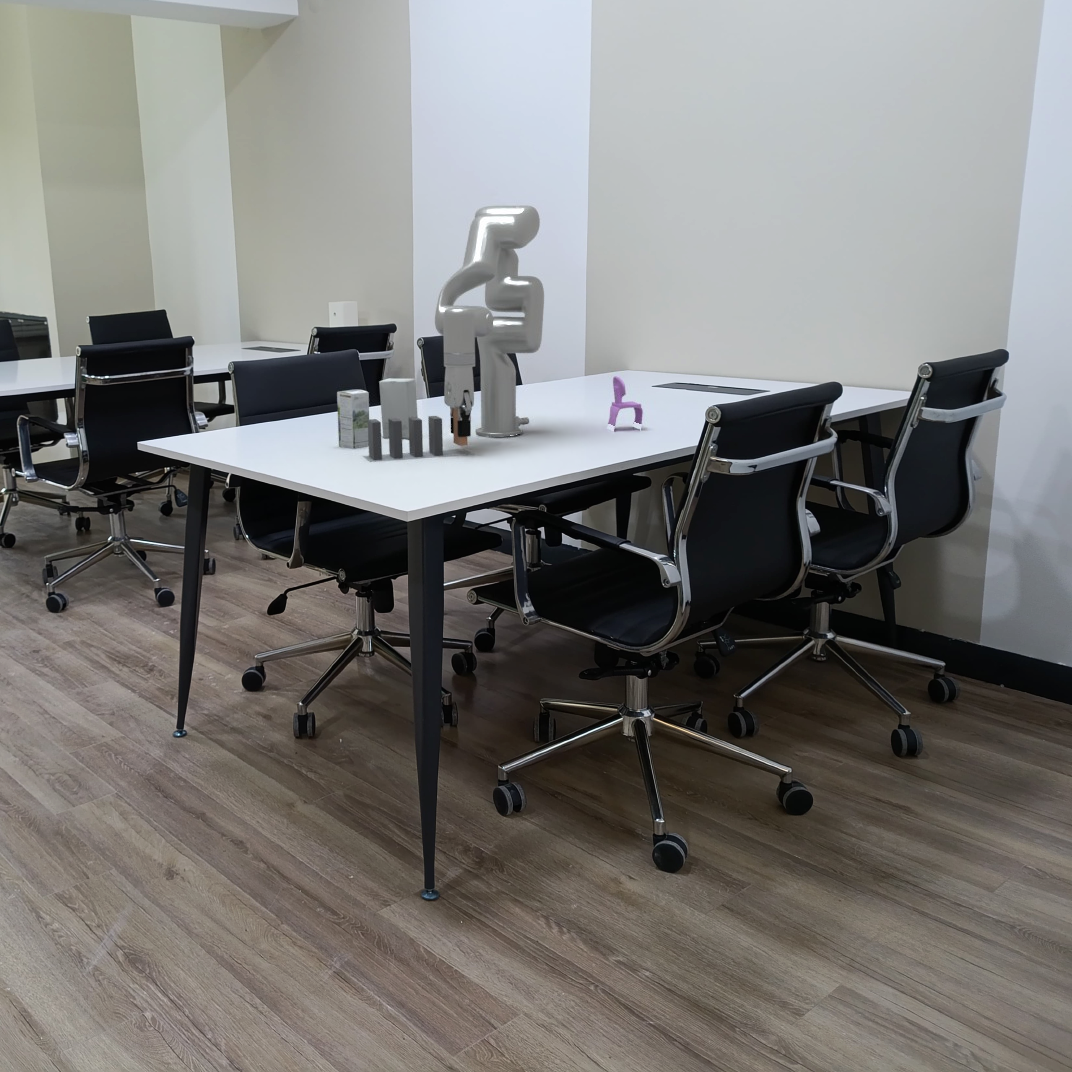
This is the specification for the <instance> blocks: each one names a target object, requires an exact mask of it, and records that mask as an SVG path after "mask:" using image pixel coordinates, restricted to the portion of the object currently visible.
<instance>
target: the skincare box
mask: <svg viewBox="0 0 1072 1072" xmlns="http://www.w3.org/2000/svg"><path fill="white" fill-rule="evenodd" d="M378 383H379V396H380V414H381V430H382V438H383V439H389V424H388V418H397V419H399V420H401V421H402V440H403V439H406V440H407V439H408V440H409V418H408V417H418V402H417V385H416V383H417V382H416V378H394V377H393V378H390V377H389V378H386V379H383V380H380V381H378ZM418 418H419V417H418Z"/></svg>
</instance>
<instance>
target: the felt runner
mask: <svg viewBox="0 0 1072 1072" xmlns="http://www.w3.org/2000/svg"><path fill="white" fill-rule="evenodd" d="M474 455H475V453H473V452H471V451H470V450H468V449H465V448H461V449H447V450H446V449H445V450H444V449H443V456H434V455H432V454H431V453H429V451H423V457H414V456H412V455H410V452H403V458H400V459H394V458H393V457H391V456H390V453H388V454H387V453H386V454H385V453H384V454H382V460H373V459H372V458H370V457H369V455H362V457H363V458H365V460H367V461H368V462H370V463H372V462H373V463H375V462H387V461H388V462H390V461H403V460H404V461H405V460H417V459H418V460H419V459H432V458H446V457H461V456H474Z"/></svg>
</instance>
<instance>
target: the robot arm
mask: <svg viewBox="0 0 1072 1072" xmlns="http://www.w3.org/2000/svg"><path fill="white" fill-rule="evenodd" d="M540 220H541V219H540V215H539V212H538V211H537V209H536V208H535V207H534V206H533V205H488V206H482V207H481V208H479V209H477V210H476V212H475V214H474V218H473V220H472V221H471V224H470V227H469V231H468V236H467V243H466V247H465V252H464V257H463V262H462V266H461V268H460V269H458V270H457V271H456V272H455V273H454V274H452V276H450V277H449V279H448V280H447V281H446V282H445V283H444V285H443V287H441V290H440V292H439V295H438V297H437V304H436V308H435V312H434V313H435V315H434V316H435V317H434V327H435V329H436V332H438V334H440V335H441V336H443V367H445V370H444V371H445V372H444V393H443V394H444V397H443V400H444V405H446V406H448V407H449V409H450V411H449V412H450V414H449V416H450V433H451V434H452V435H453V433H454V430H453V408H455V409H456V408H457V407H458V416H459V420H458V421H457V425H458V437H467V438H468V437H471V436H472V432H471V431H472V429H471V428H472V426H471V423H472V422H471V421H472V416H471V414H472V410H473V407H474V403H475V387H474V383H475V382H474V372H473V367H476V340H477V346H478V350H479V351H478V352H479V360H480V362H479V363H480V365H479V366H480V419H481V421H480V422H481V423H480V424H481V426H480V427H478V428H477V429H475V434H476V435H477V436H481V437H486V436H489V438H495V437H494V436H510V435H516V434H520V435H522V433H523V432H522V431H523V430H522V429H521V428H520V426H521V425H522V426H524V425H528V424H530V419H529V418H528V417H525V416H524V417H521V418H520V417H519V415H518V416H517V394H516V393H517V387H516V386H517V380H516V379H517V376H516V375H517V374H516V373H517V370H516V367H515V365H514V362H513V361H512V360H511V358H510V356H509V355H508V354H533V353H536V352H538V350H539V349H540V347H541V344H542V338H543V326H544V325H543V321H544V308H545V307H544V306H545V291H544V285H543V283H542V281H541V280H540V279H539V277H536V276H531V275H519V262H520V261H519V256H518V254H517V252H516V251H515V249H516V250H518V249H522V248H525V247H526V246H527V245H528V244H529V243H530V242H532V241H533V240H534V239H535V238H536V237H537V235H538V233H539V229H540V223H541V221H540ZM482 285H484V288H485V290H484V303H485V306H486V307H485V306H480V305H455V303H456V301H457V300H458V299H459V298H460V297H461V296H463V295H464V294H466V293H467V292H470V291H471V290H474V289H475V288H478V287H481V286H482ZM491 311H492V312H496V313H497V312H498V313H523V314H524V316H500V315H499V316H494V315H493V313H492V312H491ZM460 406H461V407H460ZM461 410H463V412H462V411H461ZM490 436H491V437H490Z"/></svg>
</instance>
